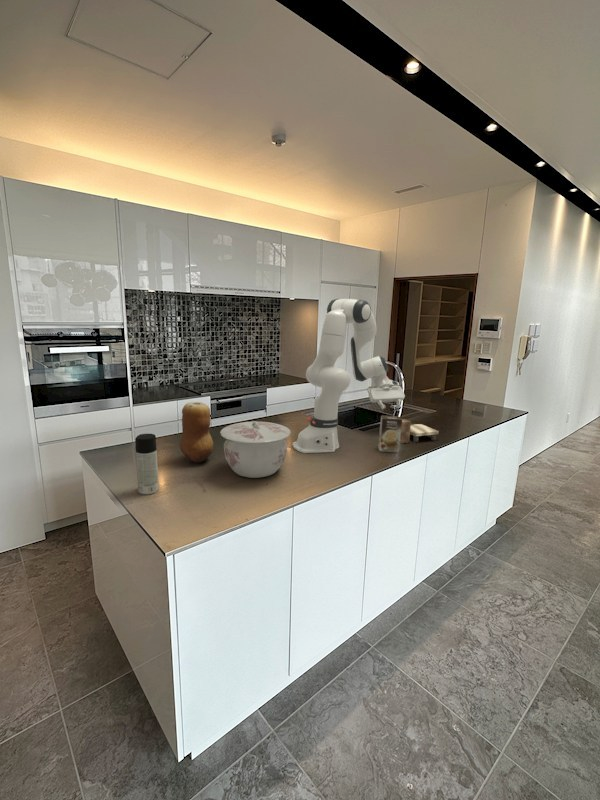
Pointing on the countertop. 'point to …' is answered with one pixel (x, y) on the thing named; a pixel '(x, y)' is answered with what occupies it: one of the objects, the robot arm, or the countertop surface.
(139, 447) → the spray can
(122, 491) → the countertop surface
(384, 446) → the coffee box
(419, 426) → the peg shelf
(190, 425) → the butternut squash
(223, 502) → the countertop surface
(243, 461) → the chamber pot
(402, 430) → the walnut block
